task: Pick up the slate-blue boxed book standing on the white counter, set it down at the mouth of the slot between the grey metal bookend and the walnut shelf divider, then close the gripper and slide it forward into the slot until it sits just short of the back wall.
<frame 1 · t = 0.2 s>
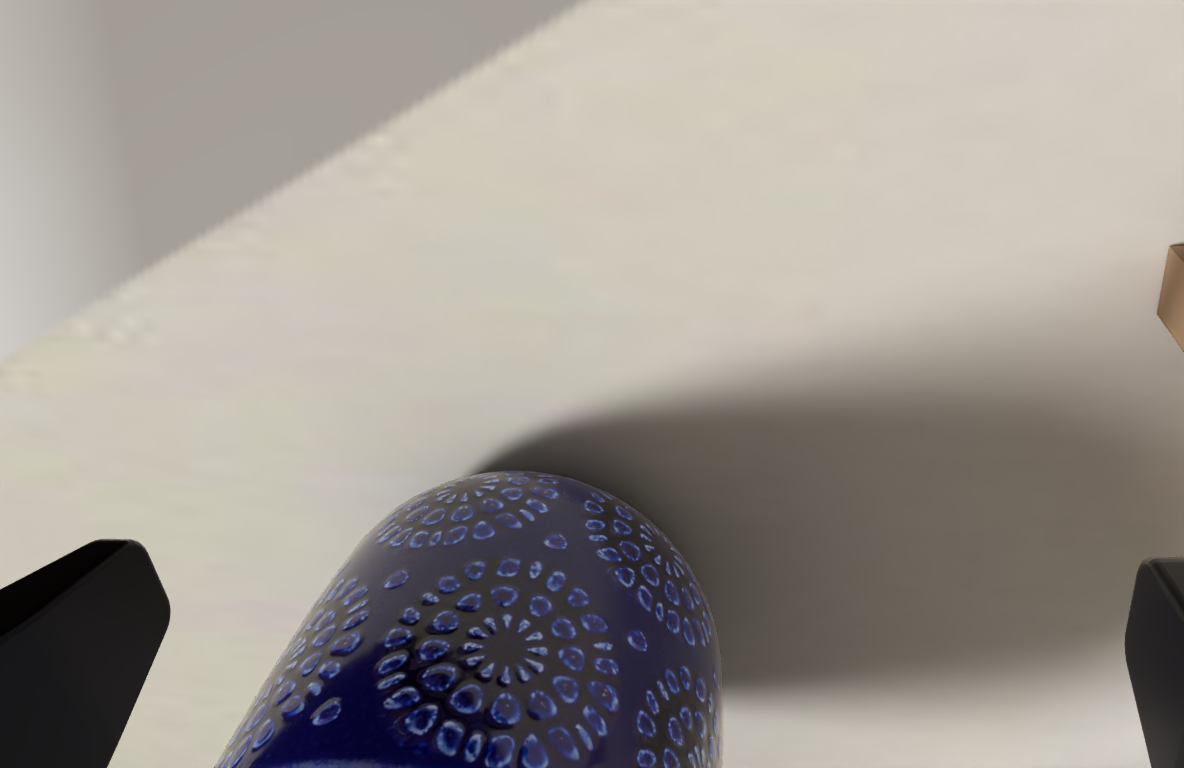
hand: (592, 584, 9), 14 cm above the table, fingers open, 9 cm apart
planter: (549, 569, 29), on the table
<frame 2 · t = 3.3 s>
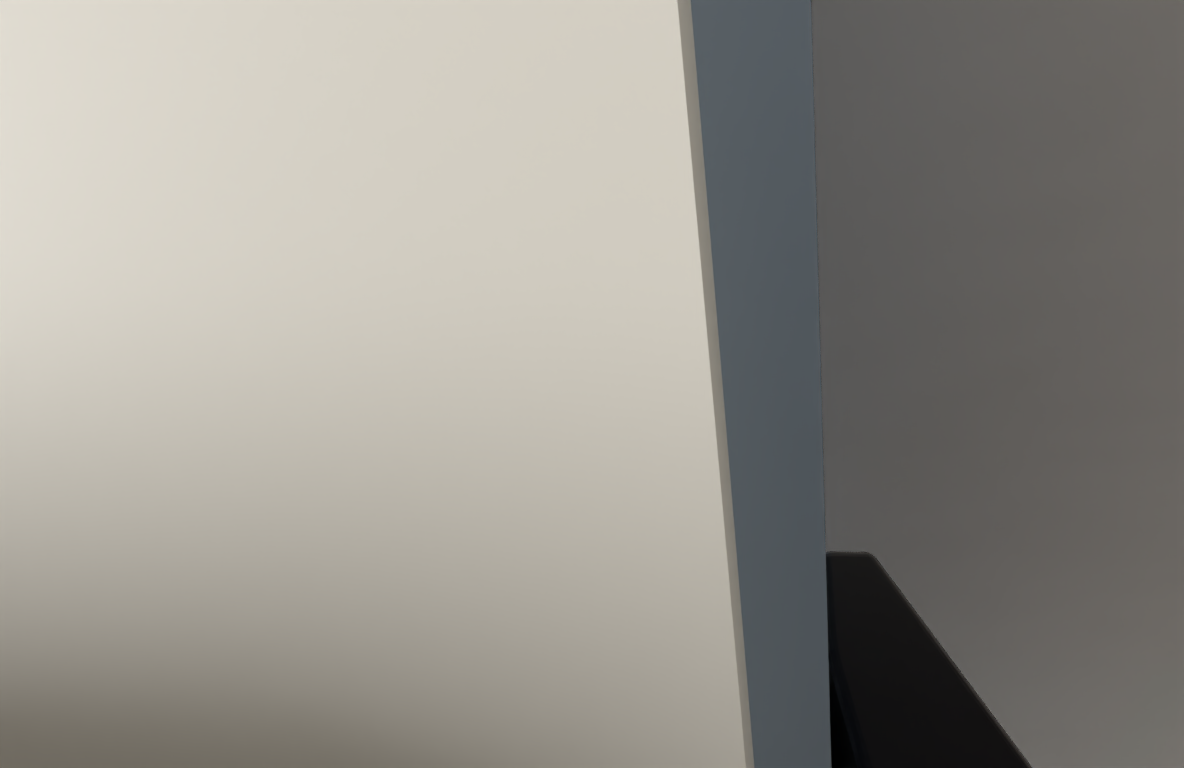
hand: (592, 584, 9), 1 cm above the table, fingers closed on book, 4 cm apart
book: (611, 502, 10), on the table, touching gripper
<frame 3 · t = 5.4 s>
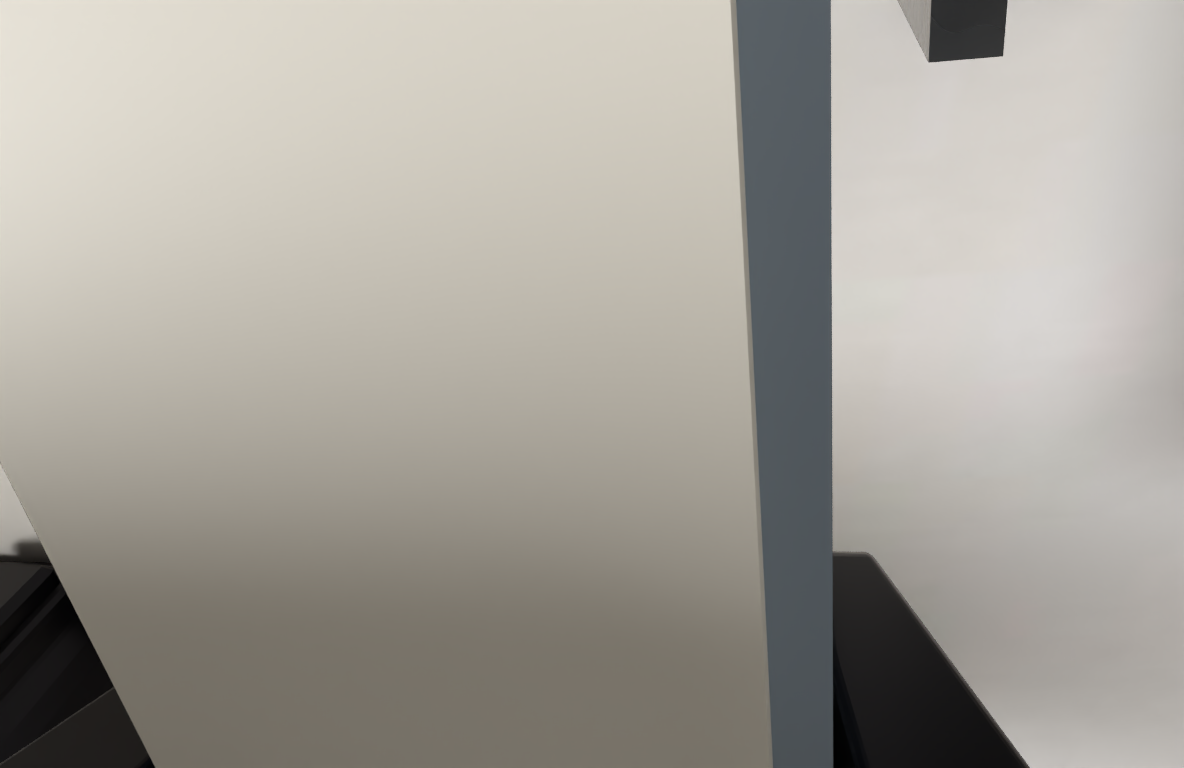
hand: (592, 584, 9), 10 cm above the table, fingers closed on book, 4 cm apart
book: (622, 453, 10), point 8 cm above the table, touching gripper
when the fingers open (2 cm above the table, at t = 7.0 s): book stays where it is, on the table.
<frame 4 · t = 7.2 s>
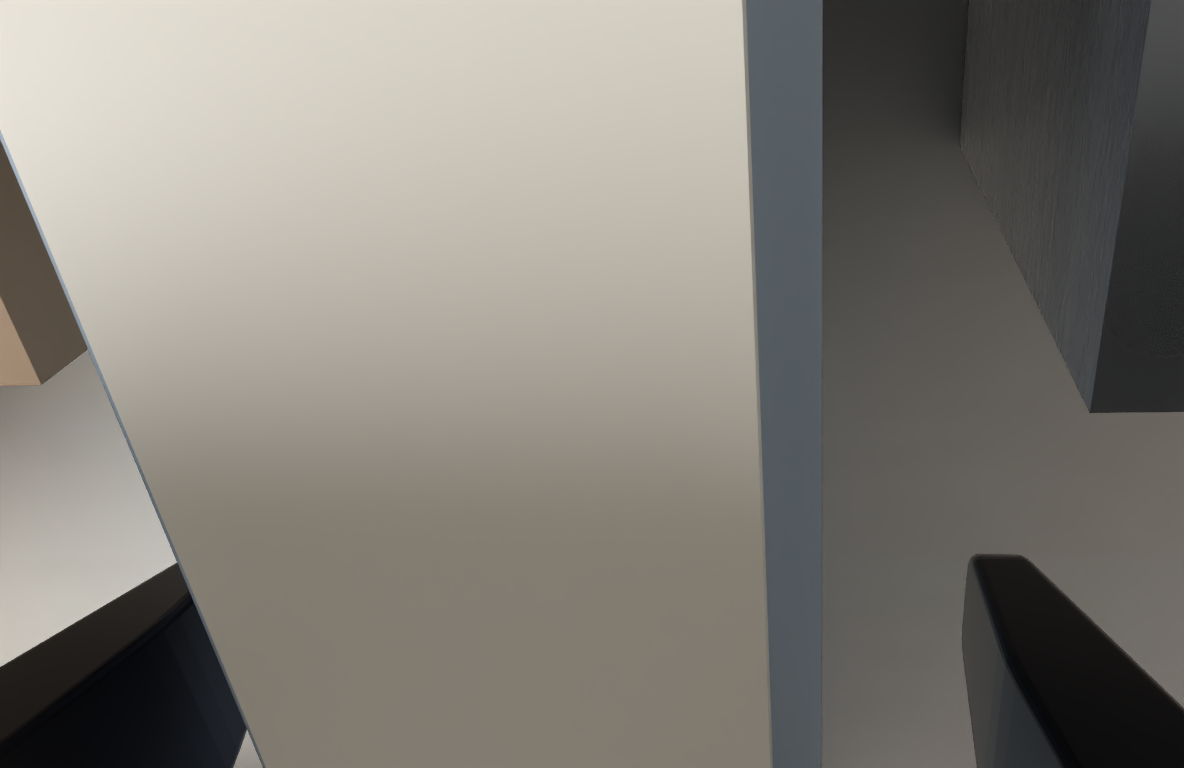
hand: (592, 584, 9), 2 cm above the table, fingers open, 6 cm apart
book: (630, 415, 11), on the table
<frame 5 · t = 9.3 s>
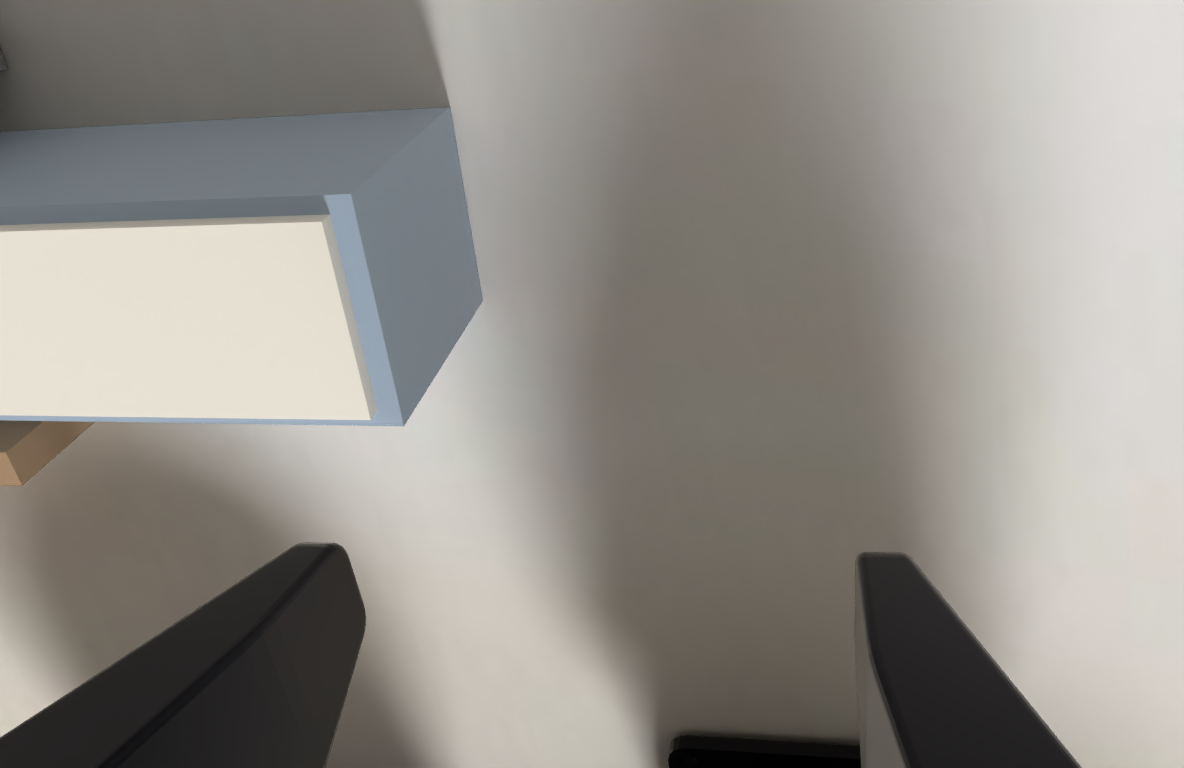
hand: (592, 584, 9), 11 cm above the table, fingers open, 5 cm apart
book: (198, 214, 21), on the table
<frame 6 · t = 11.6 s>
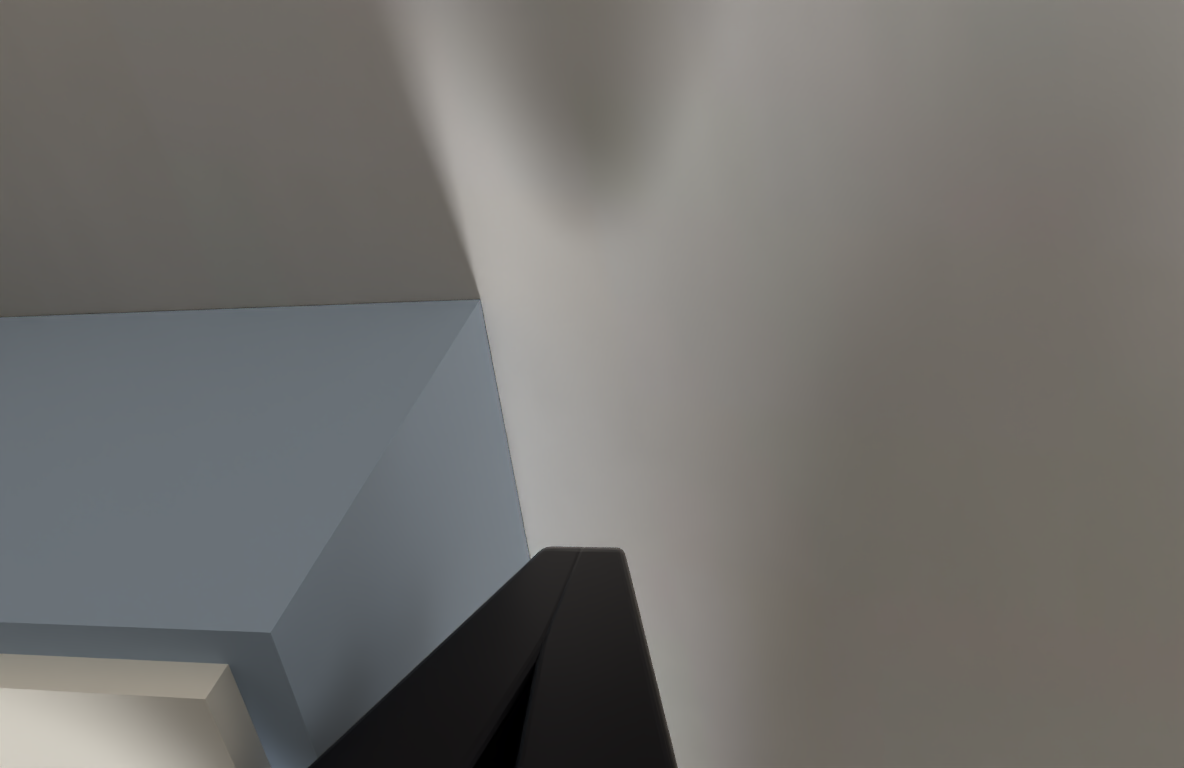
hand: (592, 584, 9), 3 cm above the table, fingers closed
book: (67, 455, 13), on the table, touching gripper
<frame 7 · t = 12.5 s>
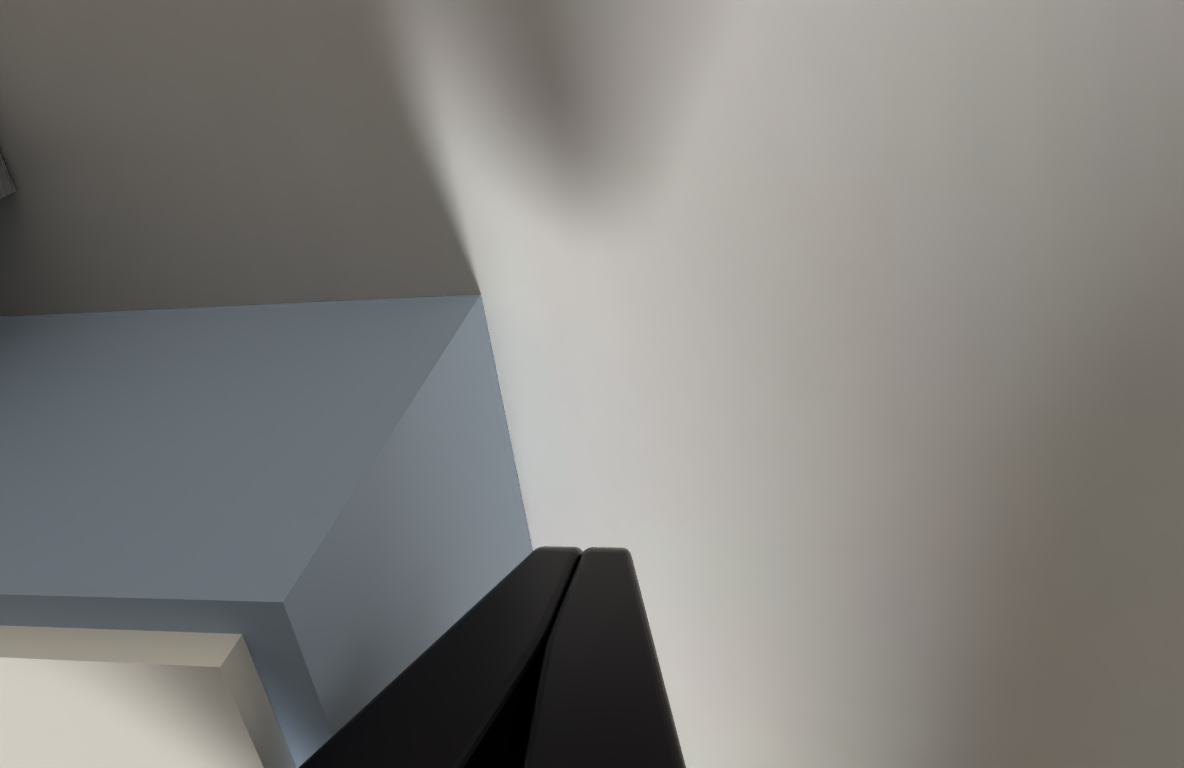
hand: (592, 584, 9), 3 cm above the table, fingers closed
book: (82, 443, 13), on the table
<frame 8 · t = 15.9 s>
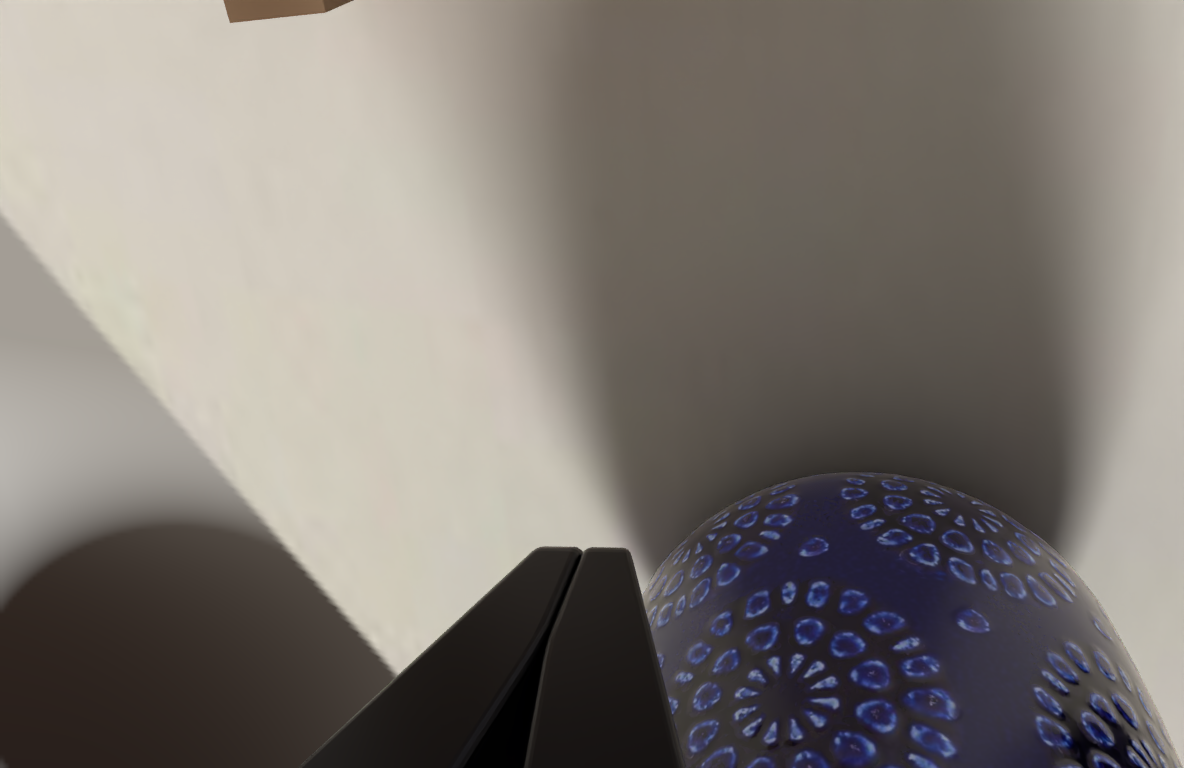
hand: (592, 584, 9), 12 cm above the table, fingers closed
planter: (852, 591, 24), on the table
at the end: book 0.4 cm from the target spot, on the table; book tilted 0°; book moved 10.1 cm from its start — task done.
